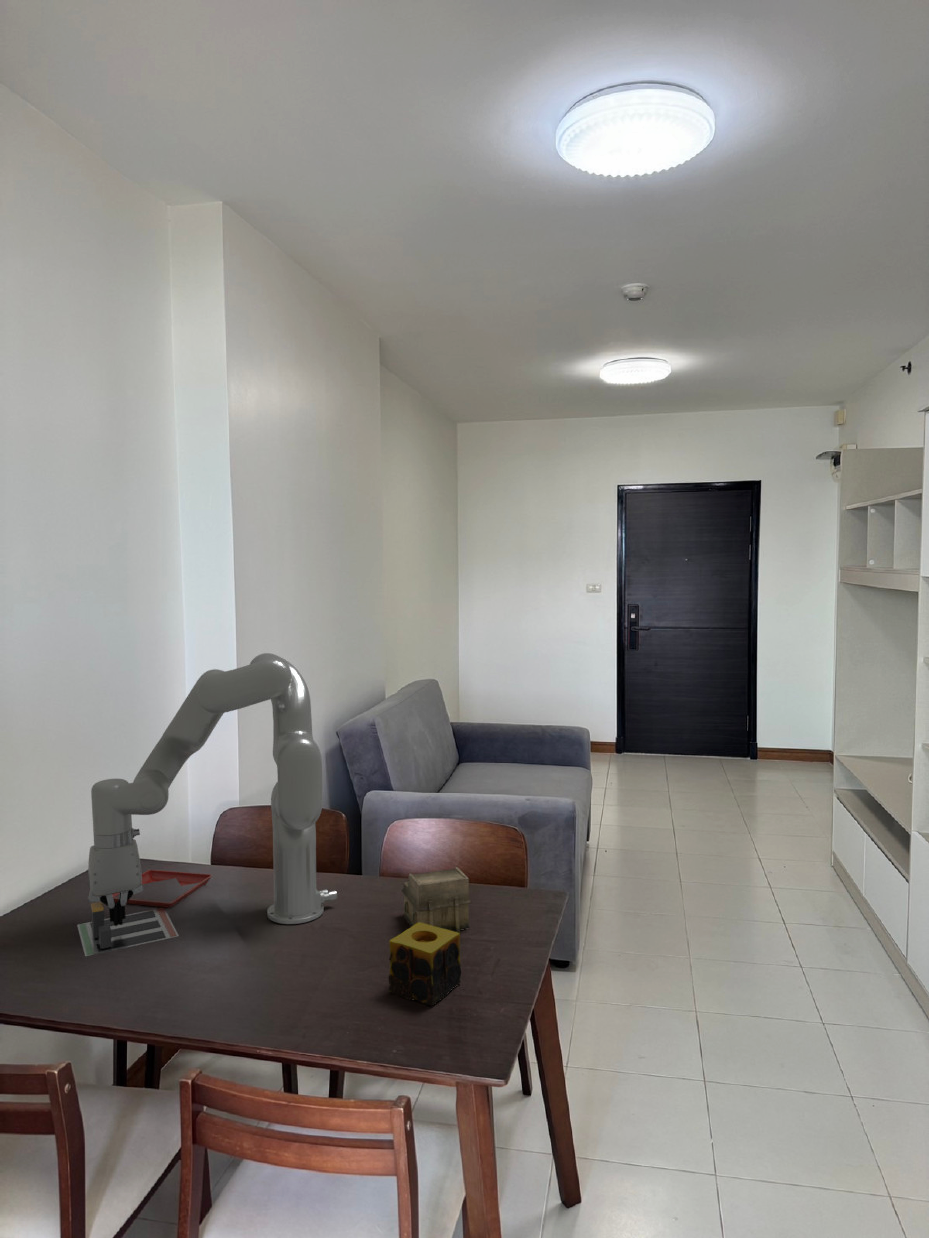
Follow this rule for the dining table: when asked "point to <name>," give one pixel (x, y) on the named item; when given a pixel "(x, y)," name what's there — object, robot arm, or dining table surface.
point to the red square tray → (161, 875)
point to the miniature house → (438, 899)
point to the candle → (424, 963)
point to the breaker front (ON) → (105, 936)
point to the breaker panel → (130, 931)
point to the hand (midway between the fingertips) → (117, 922)
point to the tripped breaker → (97, 917)
